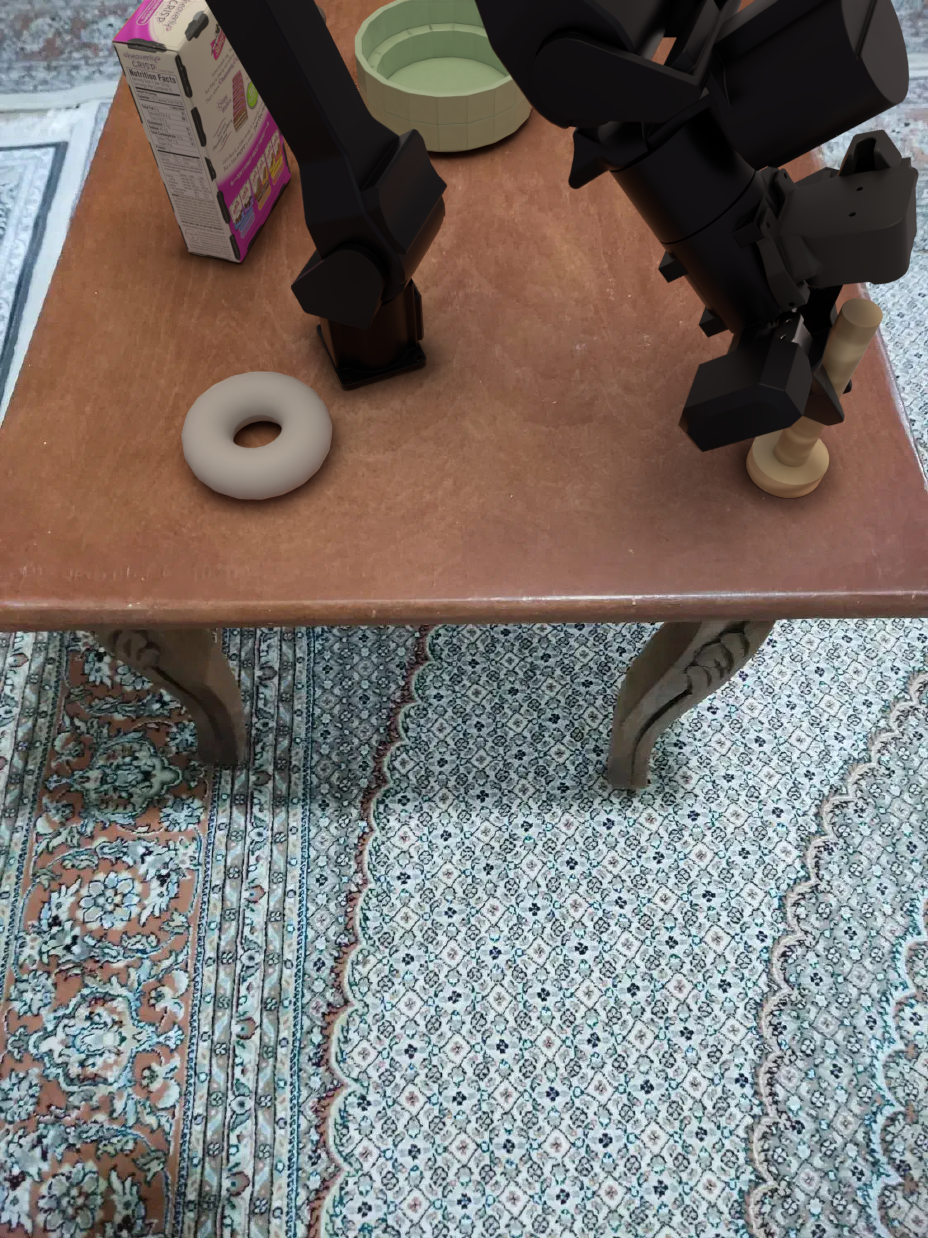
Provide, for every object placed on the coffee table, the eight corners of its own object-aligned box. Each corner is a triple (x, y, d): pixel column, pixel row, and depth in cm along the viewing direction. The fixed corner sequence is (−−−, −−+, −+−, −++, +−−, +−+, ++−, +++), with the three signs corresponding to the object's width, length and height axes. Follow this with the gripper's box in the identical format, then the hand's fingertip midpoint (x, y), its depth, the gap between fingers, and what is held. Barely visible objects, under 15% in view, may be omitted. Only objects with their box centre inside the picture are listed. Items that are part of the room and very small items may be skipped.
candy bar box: (238, 167, 75) (181, -55, 60) (293, 177, 74) (249, -45, 59) (182, 255, 70) (106, 35, 55) (241, 266, 69) (179, 47, 54)
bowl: (396, 178, 74) (391, 113, 69) (339, 78, 80) (330, 13, 76) (561, 133, 76) (567, 69, 72) (492, 40, 83) (493, -24, 78)
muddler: (771, 507, 58) (849, 356, 46) (732, 451, 60) (797, 294, 48) (836, 484, 59) (929, 330, 47) (795, 429, 61) (874, 269, 49)
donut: (169, 498, 59) (313, 520, 58) (151, 465, 56) (303, 488, 55) (218, 386, 63) (352, 405, 62) (204, 350, 60) (345, 369, 59)
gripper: (820, 252, 35) (966, 497, 43) (891, 9, 44) (1004, 252, 51) (605, 346, 44) (760, 537, 52) (698, 127, 52) (820, 321, 60)
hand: (840, 407), depth 53 cm, fingers closed on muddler, 2 cm apart
